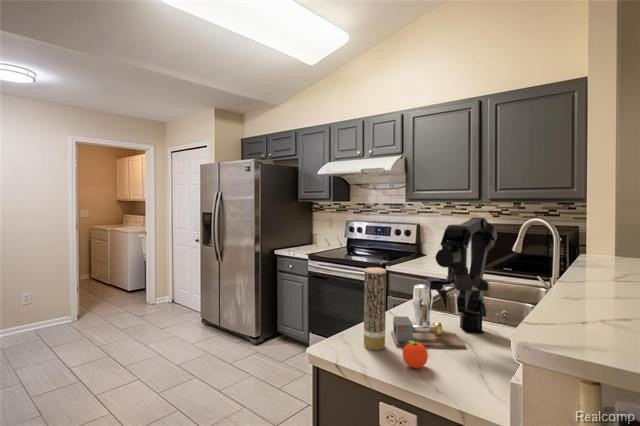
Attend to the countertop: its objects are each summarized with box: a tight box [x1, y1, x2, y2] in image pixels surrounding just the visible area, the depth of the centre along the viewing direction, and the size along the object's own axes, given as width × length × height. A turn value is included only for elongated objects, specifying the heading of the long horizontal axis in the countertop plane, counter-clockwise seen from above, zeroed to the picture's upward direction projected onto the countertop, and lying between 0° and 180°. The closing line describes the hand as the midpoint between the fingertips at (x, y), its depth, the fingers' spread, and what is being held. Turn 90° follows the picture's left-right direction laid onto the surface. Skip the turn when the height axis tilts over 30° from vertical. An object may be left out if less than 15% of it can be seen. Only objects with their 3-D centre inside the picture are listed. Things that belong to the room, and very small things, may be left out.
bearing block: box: [392, 316, 414, 343], centre depth 116 cm, size 5×8×6 cm, turn 177°
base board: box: [390, 331, 467, 350], centre depth 116 cm, size 22×10×1 cm, turn 87°
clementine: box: [402, 341, 429, 369], centre depth 99 cm, size 8×7×7 cm
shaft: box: [413, 322, 444, 337], centre depth 116 cm, size 12×5×5 cm, turn 87°
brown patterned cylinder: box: [363, 267, 387, 351], centre depth 111 cm, size 7×7×25 cm
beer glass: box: [412, 283, 434, 326], centre depth 130 cm, size 7×7×15 cm
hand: (456, 309), depth 115 cm, fingers open, 7 cm apart
